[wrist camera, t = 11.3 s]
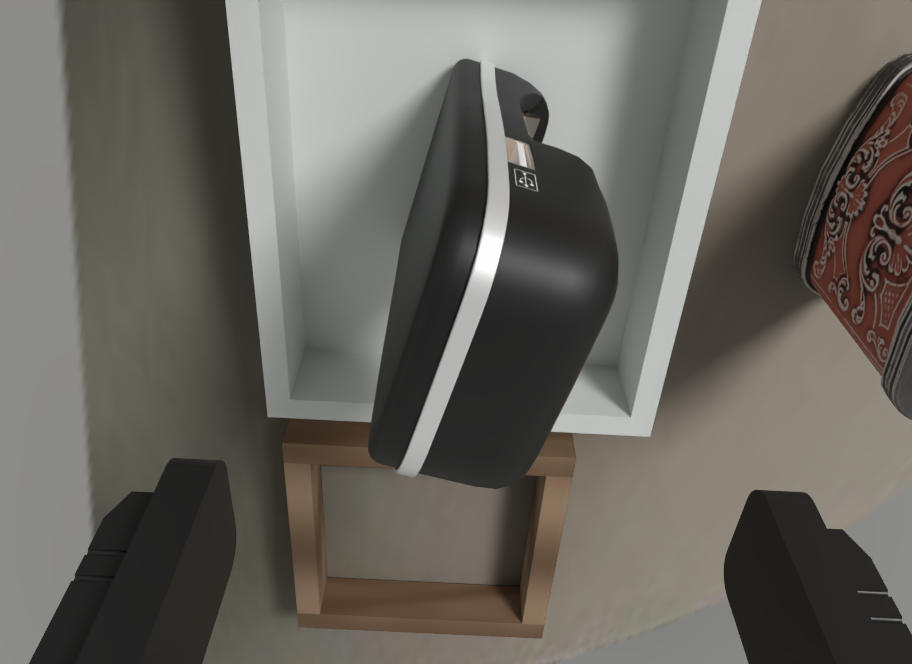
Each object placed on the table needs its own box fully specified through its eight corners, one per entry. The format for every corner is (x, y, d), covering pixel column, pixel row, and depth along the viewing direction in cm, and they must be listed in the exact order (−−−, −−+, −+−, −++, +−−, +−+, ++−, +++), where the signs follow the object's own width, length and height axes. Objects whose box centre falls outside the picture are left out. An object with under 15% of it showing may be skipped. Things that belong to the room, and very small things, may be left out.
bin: (248, -142, 20) (211, -137, 17) (741, -110, 20) (787, -99, 17) (288, 357, 29) (267, 416, 26) (631, 375, 29) (650, 436, 26)
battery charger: (504, 281, 26) (525, 540, 17) (397, 250, 26) (355, 502, 16) (583, 83, 23) (667, 271, 13) (459, 43, 22) (452, 209, 12)
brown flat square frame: (292, 408, 30) (281, 443, 29) (570, 423, 30) (576, 458, 29) (306, 590, 36) (298, 627, 35) (538, 601, 37) (542, 638, 35)
